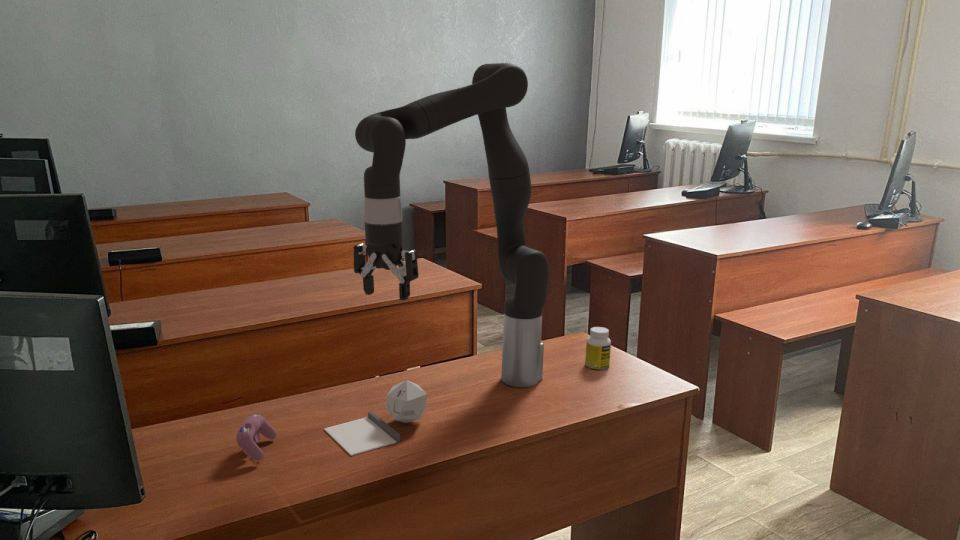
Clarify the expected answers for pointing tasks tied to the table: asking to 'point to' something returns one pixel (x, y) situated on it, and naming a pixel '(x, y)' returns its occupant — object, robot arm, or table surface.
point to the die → (406, 401)
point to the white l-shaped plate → (363, 434)
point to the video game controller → (254, 435)
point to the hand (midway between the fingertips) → (386, 296)
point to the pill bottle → (598, 349)
